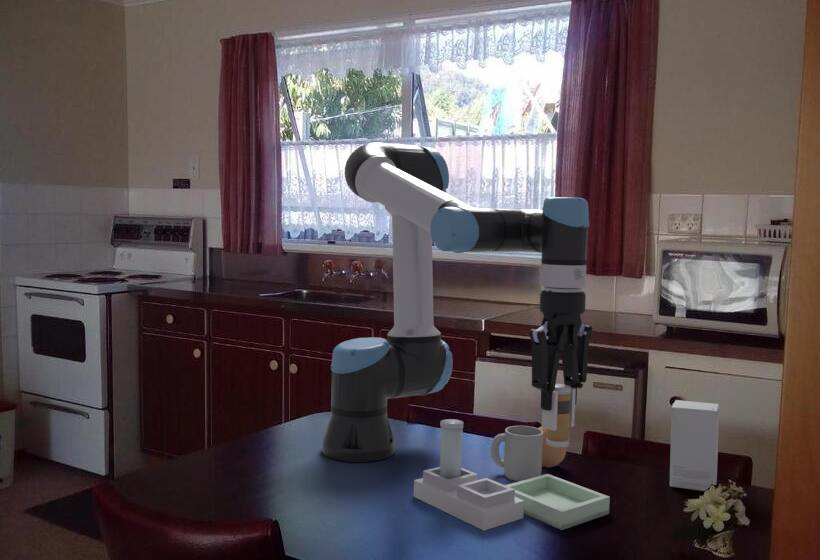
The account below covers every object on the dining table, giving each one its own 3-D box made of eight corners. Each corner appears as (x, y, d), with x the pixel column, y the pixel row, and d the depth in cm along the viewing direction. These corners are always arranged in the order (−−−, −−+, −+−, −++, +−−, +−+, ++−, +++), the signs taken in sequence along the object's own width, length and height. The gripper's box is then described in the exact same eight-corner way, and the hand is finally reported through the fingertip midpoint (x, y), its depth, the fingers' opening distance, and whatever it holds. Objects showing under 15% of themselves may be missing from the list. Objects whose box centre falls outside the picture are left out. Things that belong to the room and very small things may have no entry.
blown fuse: (541, 443, 133) (543, 385, 132) (556, 439, 135) (558, 383, 134) (558, 448, 130) (560, 389, 129) (573, 445, 132) (575, 387, 131)
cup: (537, 484, 145) (539, 438, 145) (485, 477, 149) (487, 431, 148) (544, 472, 152) (546, 428, 152) (494, 466, 156) (495, 422, 155)
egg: (561, 474, 151) (563, 432, 151) (524, 469, 154) (526, 427, 153) (568, 464, 158) (570, 422, 157) (533, 458, 161) (534, 418, 160)
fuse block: (413, 496, 138) (415, 420, 136) (452, 486, 143) (454, 413, 142) (483, 530, 124) (486, 445, 122) (523, 518, 129) (526, 436, 128)
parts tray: (500, 503, 135) (500, 486, 135) (546, 489, 143) (547, 473, 143) (561, 530, 125) (562, 512, 124) (609, 513, 132) (609, 496, 132)
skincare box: (717, 483, 148) (721, 403, 147) (714, 494, 142) (719, 411, 141) (671, 476, 152) (675, 398, 151) (666, 486, 146) (671, 405, 145)
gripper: (545, 293, 122) (540, 439, 124) (612, 289, 133) (607, 424, 135) (511, 289, 128) (507, 429, 130) (578, 286, 139) (573, 415, 140)
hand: (558, 426), depth 132 cm, fingers closed on blown fuse, 4 cm apart
